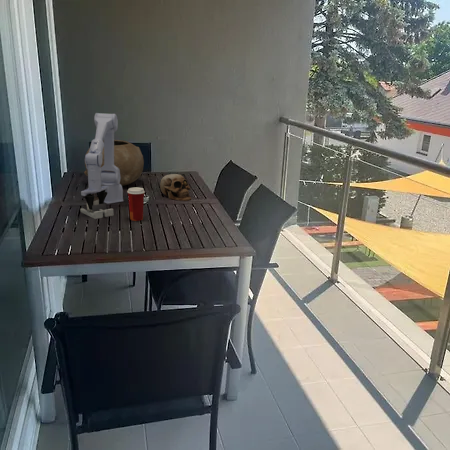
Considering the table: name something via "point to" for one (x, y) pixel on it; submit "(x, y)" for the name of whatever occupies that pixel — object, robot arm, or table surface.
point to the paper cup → (136, 203)
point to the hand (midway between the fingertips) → (96, 208)
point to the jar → (96, 202)
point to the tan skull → (175, 187)
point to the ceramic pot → (125, 161)
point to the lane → (98, 213)
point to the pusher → (99, 208)
